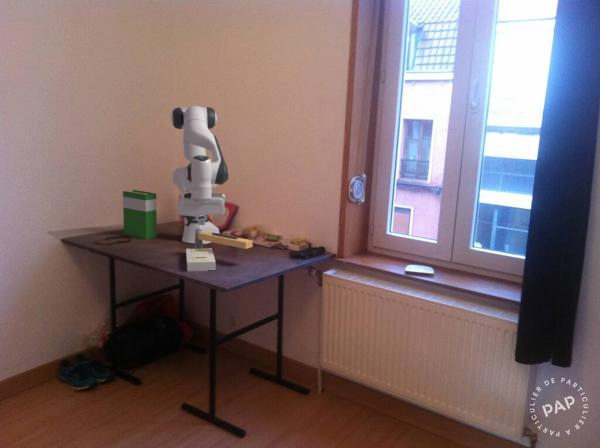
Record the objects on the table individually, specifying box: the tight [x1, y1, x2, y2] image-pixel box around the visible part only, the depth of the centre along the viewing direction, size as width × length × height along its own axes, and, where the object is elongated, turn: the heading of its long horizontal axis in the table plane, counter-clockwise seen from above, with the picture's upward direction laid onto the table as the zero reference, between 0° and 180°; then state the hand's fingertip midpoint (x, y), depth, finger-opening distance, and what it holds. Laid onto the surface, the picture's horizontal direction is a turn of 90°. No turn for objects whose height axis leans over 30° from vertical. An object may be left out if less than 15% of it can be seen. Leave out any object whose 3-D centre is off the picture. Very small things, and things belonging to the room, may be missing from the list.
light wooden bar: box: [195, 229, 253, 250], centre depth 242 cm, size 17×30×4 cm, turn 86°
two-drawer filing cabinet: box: [185, 238, 217, 272], centre depth 239 cm, size 29×12×8 cm, turn 14°
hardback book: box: [122, 189, 158, 240], centre depth 284 cm, size 18×7×24 cm, turn 58°
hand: (201, 225), depth 228 cm, fingers closed
